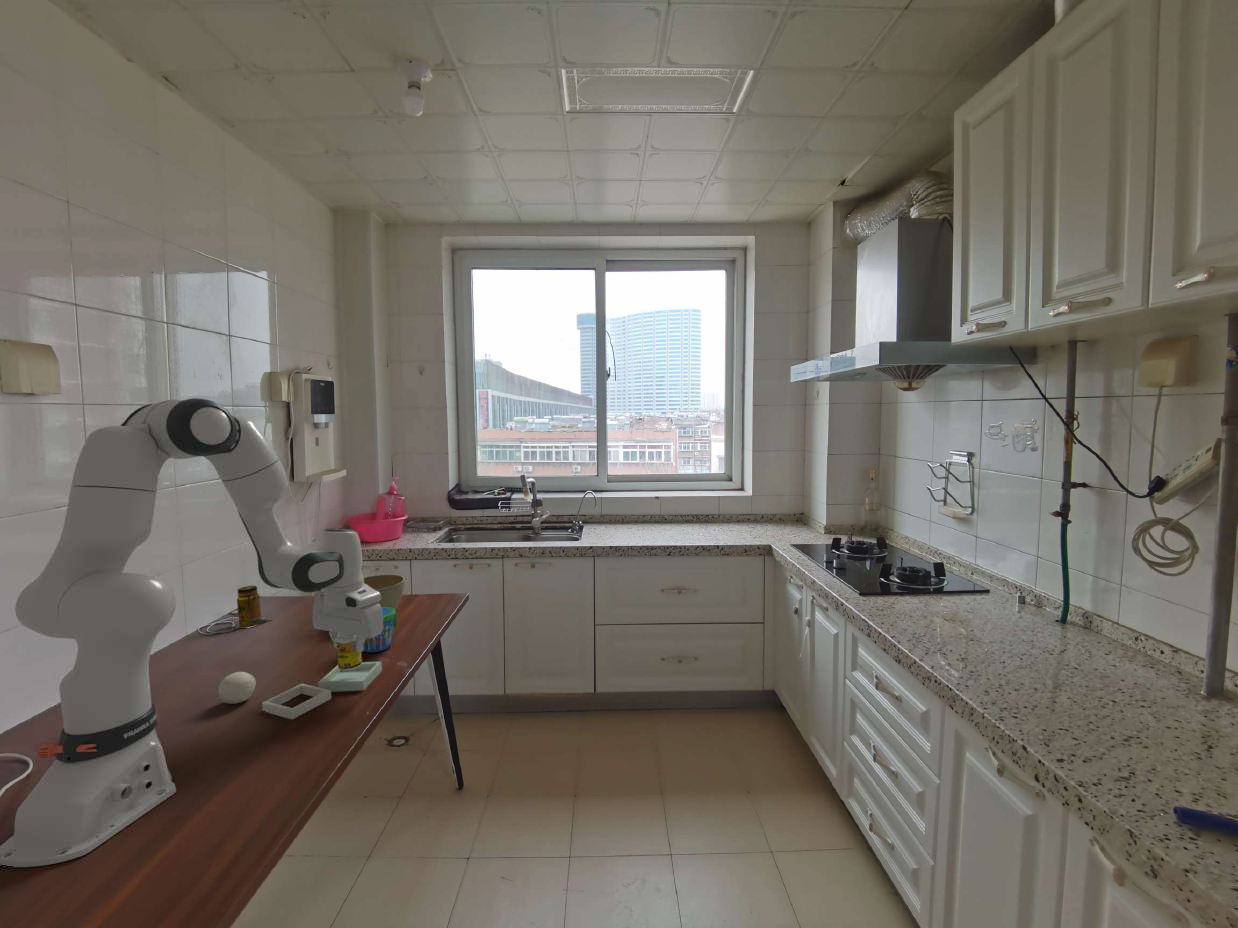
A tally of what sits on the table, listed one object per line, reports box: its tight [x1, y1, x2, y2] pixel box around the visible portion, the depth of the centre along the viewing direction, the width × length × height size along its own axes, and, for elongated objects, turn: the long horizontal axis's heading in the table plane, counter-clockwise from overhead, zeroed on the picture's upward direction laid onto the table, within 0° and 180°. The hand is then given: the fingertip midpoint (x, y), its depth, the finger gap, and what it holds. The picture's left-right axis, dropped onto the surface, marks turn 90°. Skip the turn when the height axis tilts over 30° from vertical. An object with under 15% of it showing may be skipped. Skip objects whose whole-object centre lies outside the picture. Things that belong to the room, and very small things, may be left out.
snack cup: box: [363, 607, 399, 653], centre depth 157 cm, size 16×10×10 cm
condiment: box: [233, 585, 272, 629], centre depth 181 cm, size 7×8×12 cm
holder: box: [261, 683, 332, 720], centre depth 126 cm, size 10×10×2 cm
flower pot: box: [363, 574, 405, 612], centre depth 181 cm, size 18×18×12 cm
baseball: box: [217, 671, 257, 705], centre depth 129 cm, size 7×7×7 cm
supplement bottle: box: [336, 632, 363, 671], centre depth 137 cm, size 5×5×10 cm
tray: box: [317, 661, 383, 693], centre depth 137 cm, size 11×11×2 cm
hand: (348, 649), depth 137 cm, fingers closed on supplement bottle, 5 cm apart
